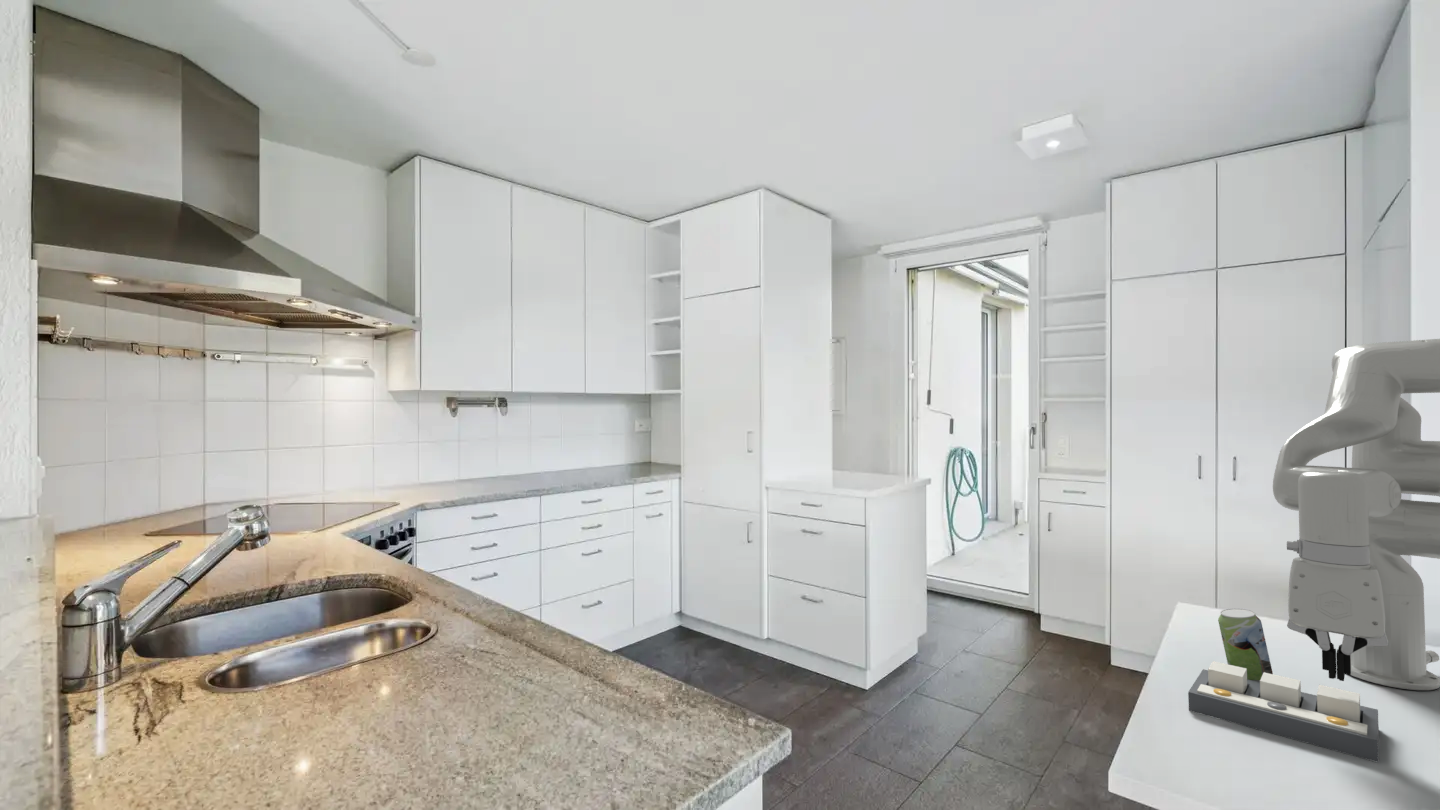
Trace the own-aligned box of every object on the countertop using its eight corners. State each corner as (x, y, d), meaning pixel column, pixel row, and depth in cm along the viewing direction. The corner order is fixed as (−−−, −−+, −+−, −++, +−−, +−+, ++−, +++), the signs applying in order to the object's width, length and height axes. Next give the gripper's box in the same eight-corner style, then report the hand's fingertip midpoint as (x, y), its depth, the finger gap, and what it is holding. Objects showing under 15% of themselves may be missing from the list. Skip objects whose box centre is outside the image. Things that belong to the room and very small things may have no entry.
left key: (1213, 678, 106) (1213, 661, 106) (1247, 686, 102) (1246, 668, 102) (1208, 687, 103) (1208, 668, 103) (1243, 695, 99) (1242, 676, 99)
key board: (1203, 686, 108) (1202, 666, 109) (1378, 729, 93) (1377, 706, 93) (1188, 710, 100) (1188, 688, 100) (1378, 762, 85) (1377, 736, 85)
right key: (1319, 704, 96) (1319, 684, 96) (1360, 713, 93) (1359, 693, 93) (1317, 714, 93) (1317, 694, 93) (1359, 724, 90) (1359, 703, 90)
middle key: (1264, 690, 101) (1263, 672, 101) (1301, 699, 98) (1300, 680, 98) (1260, 699, 98) (1259, 680, 98) (1298, 709, 95) (1297, 689, 95)
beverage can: (1281, 687, 107) (1279, 618, 107) (1233, 684, 109) (1231, 616, 109) (1258, 672, 114) (1256, 606, 114) (1212, 669, 115) (1210, 605, 115)
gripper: (1264, 550, 96) (1267, 669, 96) (1408, 566, 85) (1412, 701, 85) (1270, 543, 101) (1273, 656, 101) (1407, 557, 90) (1410, 685, 90)
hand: (1336, 676), depth 93 cm, fingers closed
